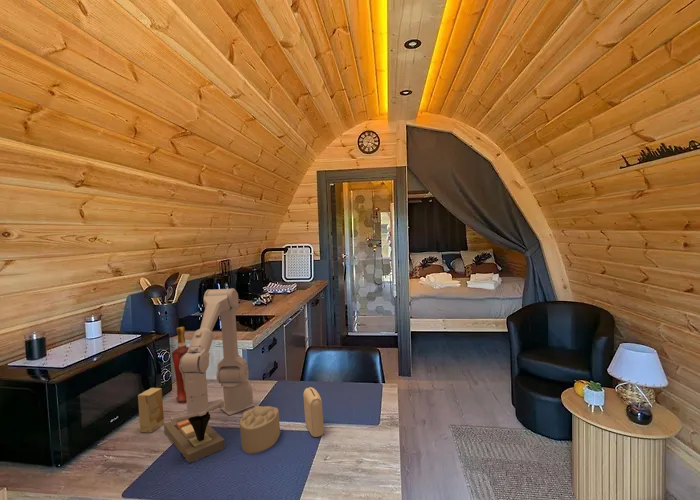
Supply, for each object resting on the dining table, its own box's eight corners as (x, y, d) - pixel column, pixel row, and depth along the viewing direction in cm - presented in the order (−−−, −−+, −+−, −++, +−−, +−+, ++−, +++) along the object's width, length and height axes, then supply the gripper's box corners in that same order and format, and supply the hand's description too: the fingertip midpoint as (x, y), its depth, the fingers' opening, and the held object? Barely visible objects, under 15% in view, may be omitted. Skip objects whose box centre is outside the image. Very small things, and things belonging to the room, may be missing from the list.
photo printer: (303, 423, 119) (301, 385, 118) (316, 420, 120) (314, 382, 120) (311, 439, 109) (309, 398, 109) (325, 435, 111) (323, 395, 110)
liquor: (184, 395, 147) (178, 325, 145) (200, 395, 145) (194, 325, 144) (171, 403, 140) (165, 330, 138) (188, 404, 138) (182, 330, 137)
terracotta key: (190, 420, 122) (190, 414, 122) (196, 425, 118) (195, 419, 118) (174, 426, 118) (174, 420, 118) (179, 432, 115) (179, 425, 115)
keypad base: (196, 420, 125) (195, 412, 125) (224, 448, 107) (224, 439, 107) (164, 431, 119) (163, 424, 119) (189, 463, 101) (188, 454, 101)
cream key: (198, 428, 116) (197, 421, 116) (203, 433, 113) (203, 427, 113) (181, 434, 113) (181, 428, 113) (186, 440, 109) (186, 434, 109)
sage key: (206, 439, 111) (206, 432, 111) (212, 445, 107) (212, 439, 107) (189, 446, 108) (188, 439, 108) (195, 453, 104) (194, 446, 104)
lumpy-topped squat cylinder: (283, 429, 116) (281, 402, 116) (269, 454, 103) (267, 423, 103) (251, 429, 117) (249, 402, 117) (233, 453, 104) (231, 423, 104)
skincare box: (151, 433, 118) (148, 395, 118) (139, 432, 119) (136, 395, 119) (165, 423, 125) (162, 387, 124) (154, 422, 126) (151, 387, 125)
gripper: (174, 406, 99) (178, 456, 100) (226, 389, 109) (230, 434, 109) (166, 399, 105) (170, 445, 105) (217, 383, 114) (220, 426, 115)
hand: (200, 439), depth 108 cm, fingers closed, pressing on sage key
